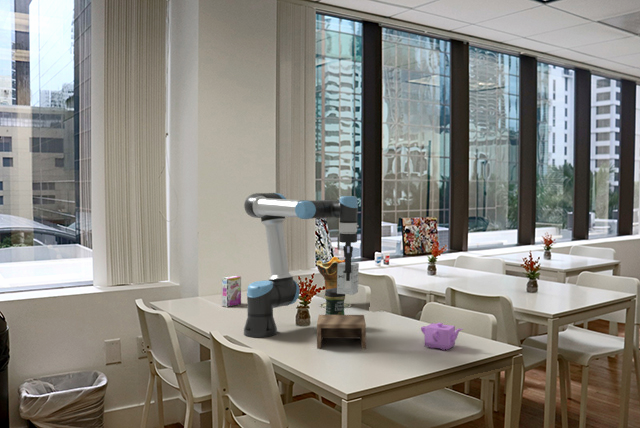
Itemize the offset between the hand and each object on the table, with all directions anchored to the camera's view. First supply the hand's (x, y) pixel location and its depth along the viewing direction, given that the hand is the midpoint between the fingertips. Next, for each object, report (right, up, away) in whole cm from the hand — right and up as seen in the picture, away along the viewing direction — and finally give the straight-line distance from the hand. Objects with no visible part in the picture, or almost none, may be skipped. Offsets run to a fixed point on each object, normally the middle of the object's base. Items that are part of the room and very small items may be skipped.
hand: (347, 286), depth 230 cm
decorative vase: (-3, -22, +82) cm, 85 cm away
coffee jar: (-4, -24, +31) cm, 40 cm away
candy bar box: (-62, -22, +84) cm, 107 cm away
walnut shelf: (-2, -24, +3) cm, 25 cm away
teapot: (+38, -25, -5) cm, 46 cm away
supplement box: (0, -3, 0) cm, 3 cm away
